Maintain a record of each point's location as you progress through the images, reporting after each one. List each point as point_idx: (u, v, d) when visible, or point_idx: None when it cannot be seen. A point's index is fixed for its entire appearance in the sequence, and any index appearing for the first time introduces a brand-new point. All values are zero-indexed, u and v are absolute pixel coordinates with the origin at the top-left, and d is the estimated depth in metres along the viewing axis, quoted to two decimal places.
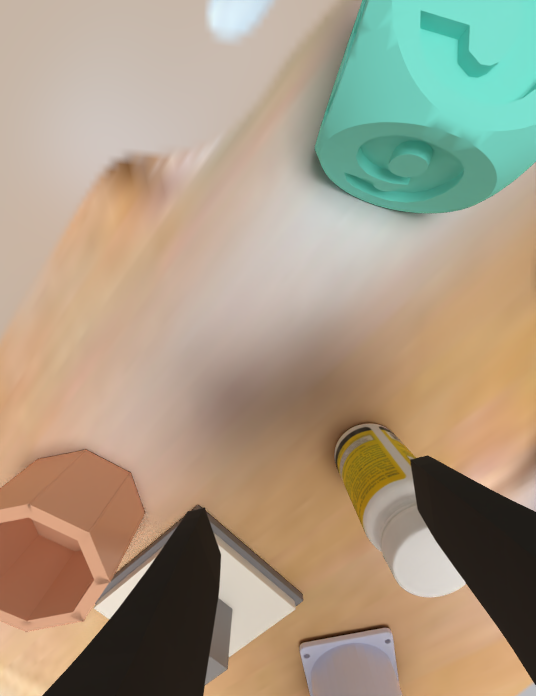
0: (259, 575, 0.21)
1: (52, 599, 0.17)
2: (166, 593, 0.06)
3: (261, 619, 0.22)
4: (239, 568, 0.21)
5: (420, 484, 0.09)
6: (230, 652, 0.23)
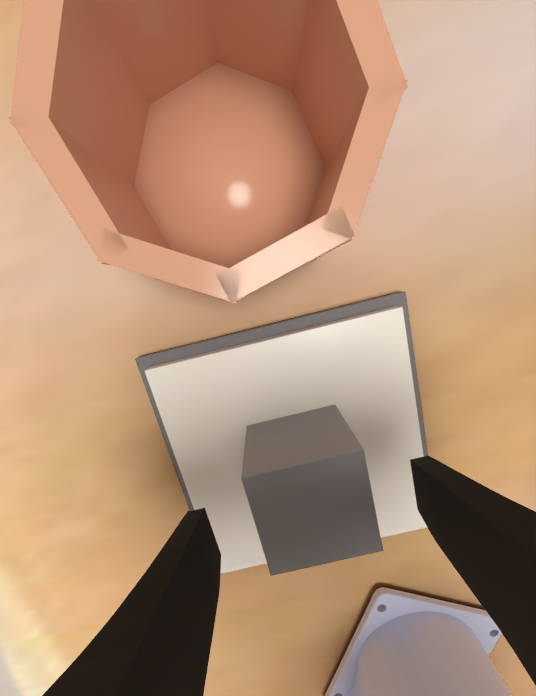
0: (419, 447, 0.13)
1: None
2: (166, 593, 0.06)
3: (377, 519, 0.14)
4: (409, 419, 0.12)
5: (420, 484, 0.09)
6: None
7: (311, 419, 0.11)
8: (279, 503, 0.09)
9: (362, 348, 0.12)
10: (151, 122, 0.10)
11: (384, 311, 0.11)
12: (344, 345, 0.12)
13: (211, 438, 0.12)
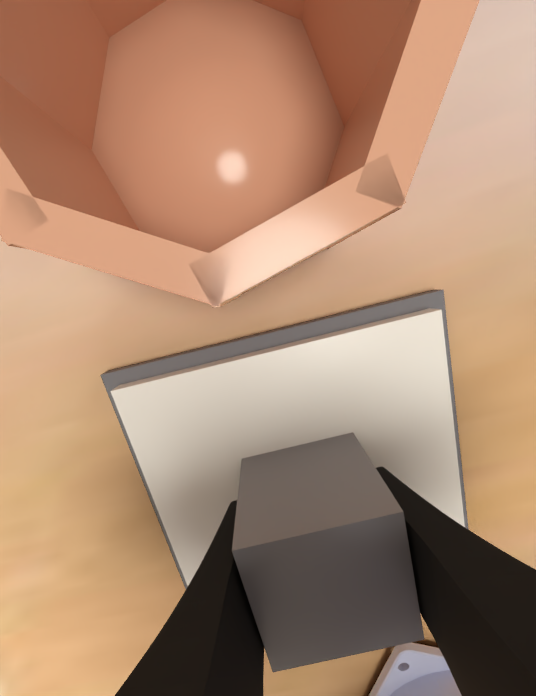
0: (455, 483, 0.11)
1: None
2: (230, 578, 0.06)
3: None
4: (445, 449, 0.10)
5: None
6: None
7: (324, 453, 0.09)
8: (284, 581, 0.07)
9: (388, 361, 0.09)
10: (112, 62, 0.08)
11: (418, 315, 0.09)
12: (366, 358, 0.09)
13: (197, 474, 0.10)
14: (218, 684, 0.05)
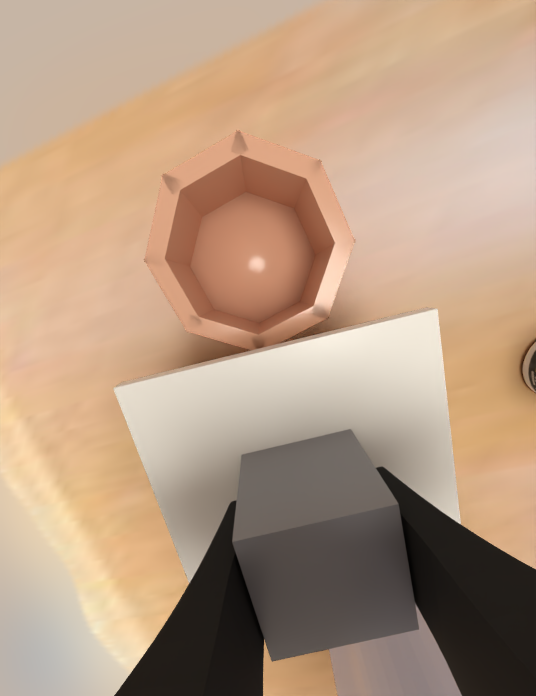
0: (451, 479, 0.11)
1: (219, 319, 0.14)
2: (230, 578, 0.06)
3: None
4: (441, 446, 0.10)
5: None
6: None
7: (322, 449, 0.09)
8: (283, 572, 0.07)
9: (386, 359, 0.09)
10: (202, 227, 0.16)
11: (414, 314, 0.09)
12: (363, 356, 0.09)
13: (198, 469, 0.10)
14: (218, 684, 0.05)
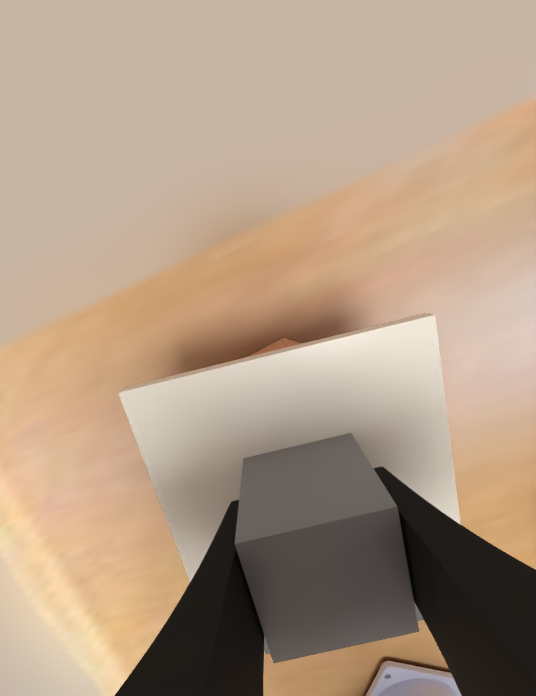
0: (451, 482, 0.11)
1: None
2: (230, 578, 0.06)
3: None
4: (440, 449, 0.10)
5: None
6: None
7: (323, 453, 0.09)
8: (284, 574, 0.07)
9: (384, 364, 0.10)
10: None
11: (412, 320, 0.09)
12: (363, 361, 0.10)
13: (201, 473, 0.10)
14: (218, 684, 0.05)
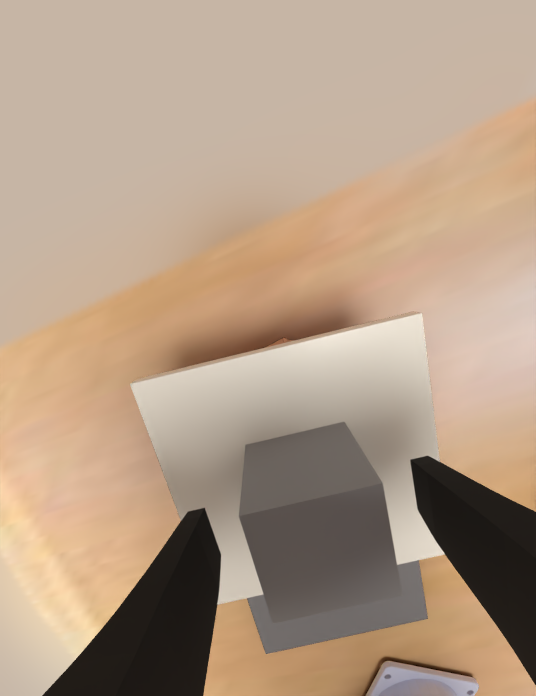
0: None
1: None
2: (166, 593, 0.06)
3: None
4: (427, 437, 0.11)
5: (420, 485, 0.09)
6: None
7: (318, 439, 0.10)
8: (282, 543, 0.08)
9: (375, 358, 0.10)
10: None
11: (401, 318, 0.10)
12: (355, 356, 0.10)
13: (206, 458, 0.11)
14: None
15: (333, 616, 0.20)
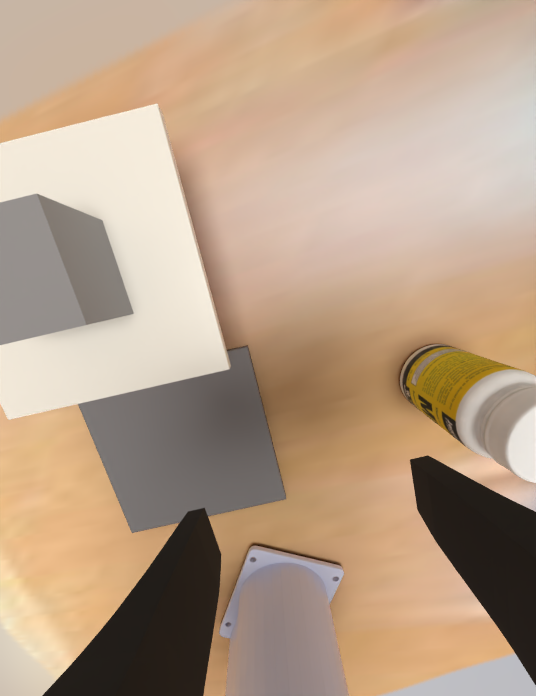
0: (206, 279, 0.13)
1: None
2: (166, 593, 0.06)
3: (168, 359, 0.13)
4: (185, 240, 0.12)
5: (420, 485, 0.09)
6: (89, 395, 0.13)
7: None
8: None
9: (121, 152, 0.11)
10: None
11: (139, 109, 0.11)
12: (101, 148, 0.11)
13: None
14: None
15: (193, 494, 0.21)
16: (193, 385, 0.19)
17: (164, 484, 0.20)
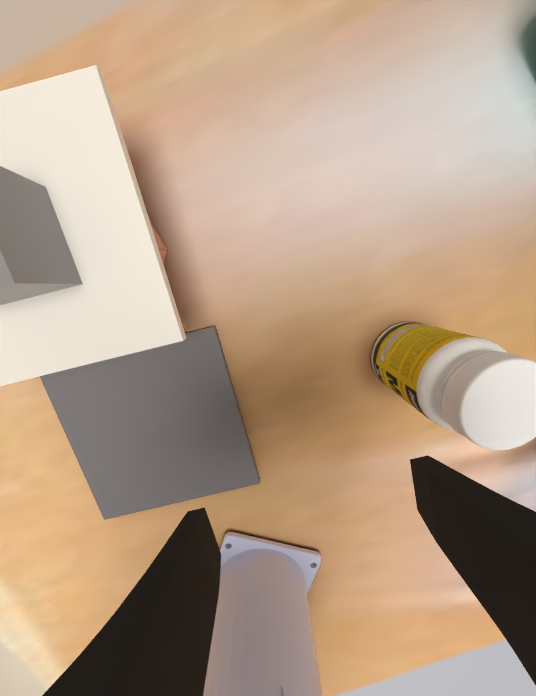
0: (156, 248, 0.12)
1: None
2: (166, 593, 0.06)
3: (120, 331, 0.13)
4: (131, 207, 0.12)
5: (420, 484, 0.09)
6: (41, 369, 0.13)
7: None
8: None
9: (61, 116, 0.11)
10: None
11: (78, 71, 0.11)
12: (41, 112, 0.11)
13: None
14: None
15: (165, 479, 0.20)
16: (161, 366, 0.18)
17: (135, 468, 0.20)
